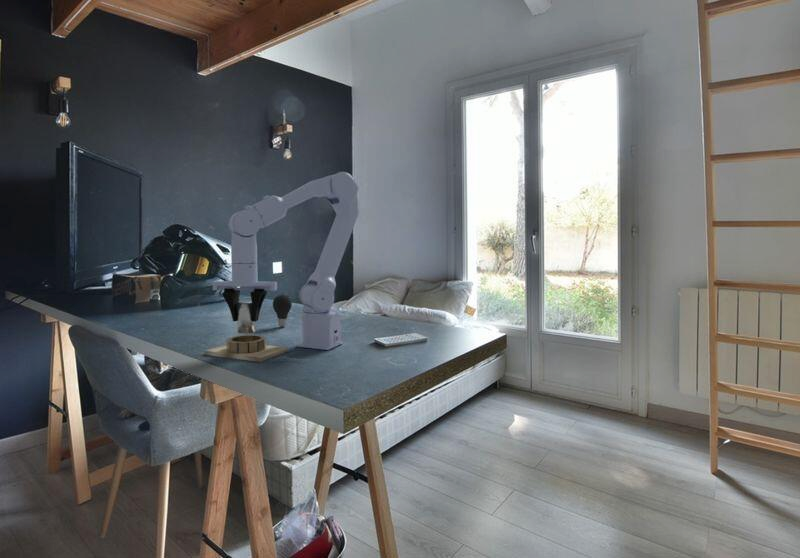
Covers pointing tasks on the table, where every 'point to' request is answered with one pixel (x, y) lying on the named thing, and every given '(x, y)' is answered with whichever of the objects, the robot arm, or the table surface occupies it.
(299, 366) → the table surface
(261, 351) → the socket base
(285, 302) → the light bulb
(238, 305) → the bayonet cap
